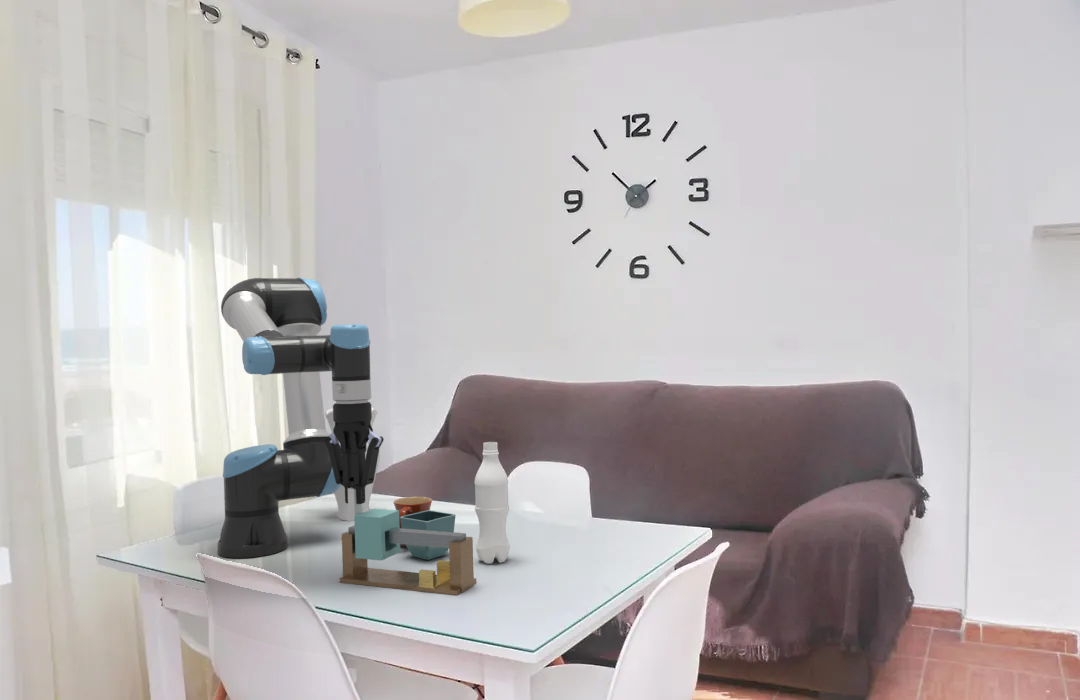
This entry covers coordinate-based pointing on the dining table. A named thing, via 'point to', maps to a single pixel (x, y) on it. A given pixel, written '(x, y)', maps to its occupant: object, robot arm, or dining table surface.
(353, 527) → the rail
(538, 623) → the dining table surface
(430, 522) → the flower pot
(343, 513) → the vase
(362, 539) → the block
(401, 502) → the mug
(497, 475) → the water bottle
